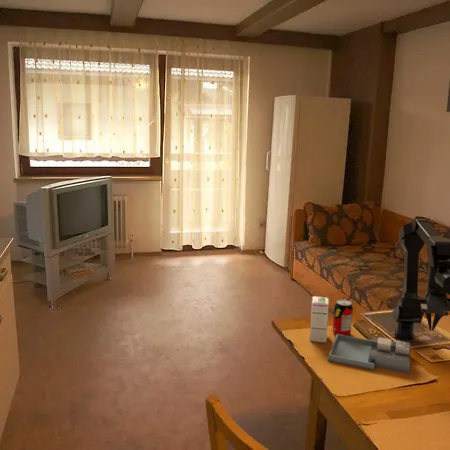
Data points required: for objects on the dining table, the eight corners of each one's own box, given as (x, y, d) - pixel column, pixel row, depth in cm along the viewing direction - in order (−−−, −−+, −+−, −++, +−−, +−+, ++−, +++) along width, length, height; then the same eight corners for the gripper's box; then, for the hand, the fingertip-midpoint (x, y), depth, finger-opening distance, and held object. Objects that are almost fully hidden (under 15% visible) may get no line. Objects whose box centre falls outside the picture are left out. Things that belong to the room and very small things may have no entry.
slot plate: (371, 348, 161) (372, 337, 160) (409, 355, 156) (410, 344, 156) (367, 365, 150) (369, 354, 149) (408, 374, 146) (410, 362, 145)
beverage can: (347, 329, 174) (350, 298, 171) (352, 337, 168) (355, 306, 165) (330, 329, 174) (332, 298, 171) (334, 337, 168) (337, 305, 165)
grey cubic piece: (395, 351, 154) (396, 340, 153) (408, 354, 152) (409, 342, 151) (394, 357, 150) (395, 346, 149) (408, 360, 149) (409, 348, 148)
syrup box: (326, 343, 164) (329, 303, 160) (309, 341, 165) (311, 301, 161) (326, 335, 169) (329, 297, 166) (309, 333, 170) (312, 295, 167)
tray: (336, 339, 167) (336, 333, 166) (378, 347, 162) (378, 341, 161) (328, 360, 152) (328, 355, 152) (373, 370, 147) (374, 364, 147)
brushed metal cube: (377, 348, 156) (378, 337, 155) (390, 350, 154) (391, 339, 153) (376, 354, 152) (377, 342, 151) (389, 356, 151) (390, 345, 150)
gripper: (403, 286, 138) (397, 335, 142) (475, 296, 132) (467, 347, 136) (404, 274, 148) (399, 320, 152) (471, 283, 142) (464, 331, 146)
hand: (431, 329), depth 146 cm, fingers closed
